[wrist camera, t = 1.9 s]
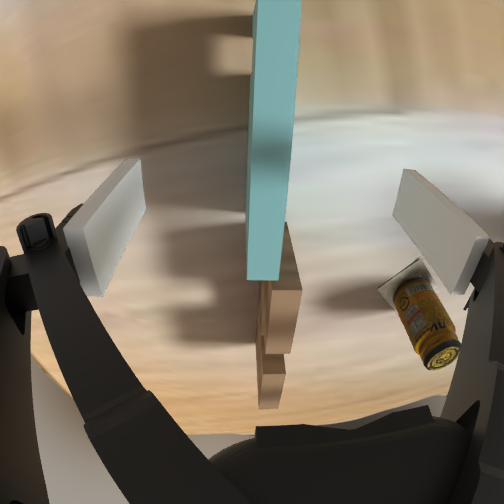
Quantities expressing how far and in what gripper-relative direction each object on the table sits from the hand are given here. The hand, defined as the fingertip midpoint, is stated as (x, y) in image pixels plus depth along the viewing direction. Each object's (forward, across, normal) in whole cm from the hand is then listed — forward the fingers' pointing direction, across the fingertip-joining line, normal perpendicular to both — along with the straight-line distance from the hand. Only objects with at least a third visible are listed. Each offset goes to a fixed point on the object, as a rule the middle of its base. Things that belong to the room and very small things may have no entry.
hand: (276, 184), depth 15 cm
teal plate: (+16, 0, 0) cm, 16 cm away
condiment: (+16, +22, -21) cm, 34 cm away
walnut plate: (+16, +2, -21) cm, 26 cm away
